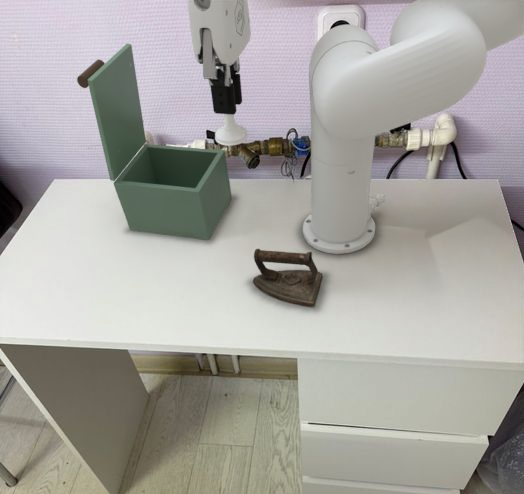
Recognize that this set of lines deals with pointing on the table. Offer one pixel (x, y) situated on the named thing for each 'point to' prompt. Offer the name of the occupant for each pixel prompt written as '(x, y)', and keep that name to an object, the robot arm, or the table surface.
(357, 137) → the robot arm
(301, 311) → the table surface
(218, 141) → the chess piece
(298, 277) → the clothes iron
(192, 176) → the bin
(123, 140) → the bin lid
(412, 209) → the table surface
